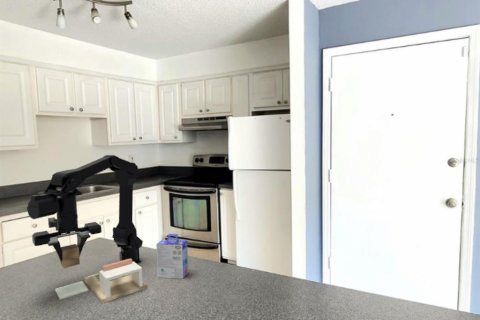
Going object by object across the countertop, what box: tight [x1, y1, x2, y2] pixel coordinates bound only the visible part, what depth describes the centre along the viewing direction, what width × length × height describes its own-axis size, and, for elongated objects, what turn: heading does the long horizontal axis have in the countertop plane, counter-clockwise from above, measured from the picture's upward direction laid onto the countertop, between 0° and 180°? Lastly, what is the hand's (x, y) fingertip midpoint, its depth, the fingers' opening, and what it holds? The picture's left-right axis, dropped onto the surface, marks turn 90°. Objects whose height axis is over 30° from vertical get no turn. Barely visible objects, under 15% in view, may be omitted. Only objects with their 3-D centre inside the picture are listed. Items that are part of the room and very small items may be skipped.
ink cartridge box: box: [155, 233, 189, 279], centre depth 109 cm, size 10×6×14 cm, turn 81°
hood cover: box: [98, 258, 144, 298], centre depth 98 cm, size 11×7×7 cm, turn 130°
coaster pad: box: [54, 280, 89, 300], centre depth 99 cm, size 8×8×1 cm
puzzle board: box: [83, 272, 148, 304], centre depth 103 cm, size 14×20×1 cm
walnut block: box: [60, 243, 81, 269], centre depth 98 cm, size 4×4×6 cm
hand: (69, 259), depth 99 cm, fingers closed on walnut block, 4 cm apart
